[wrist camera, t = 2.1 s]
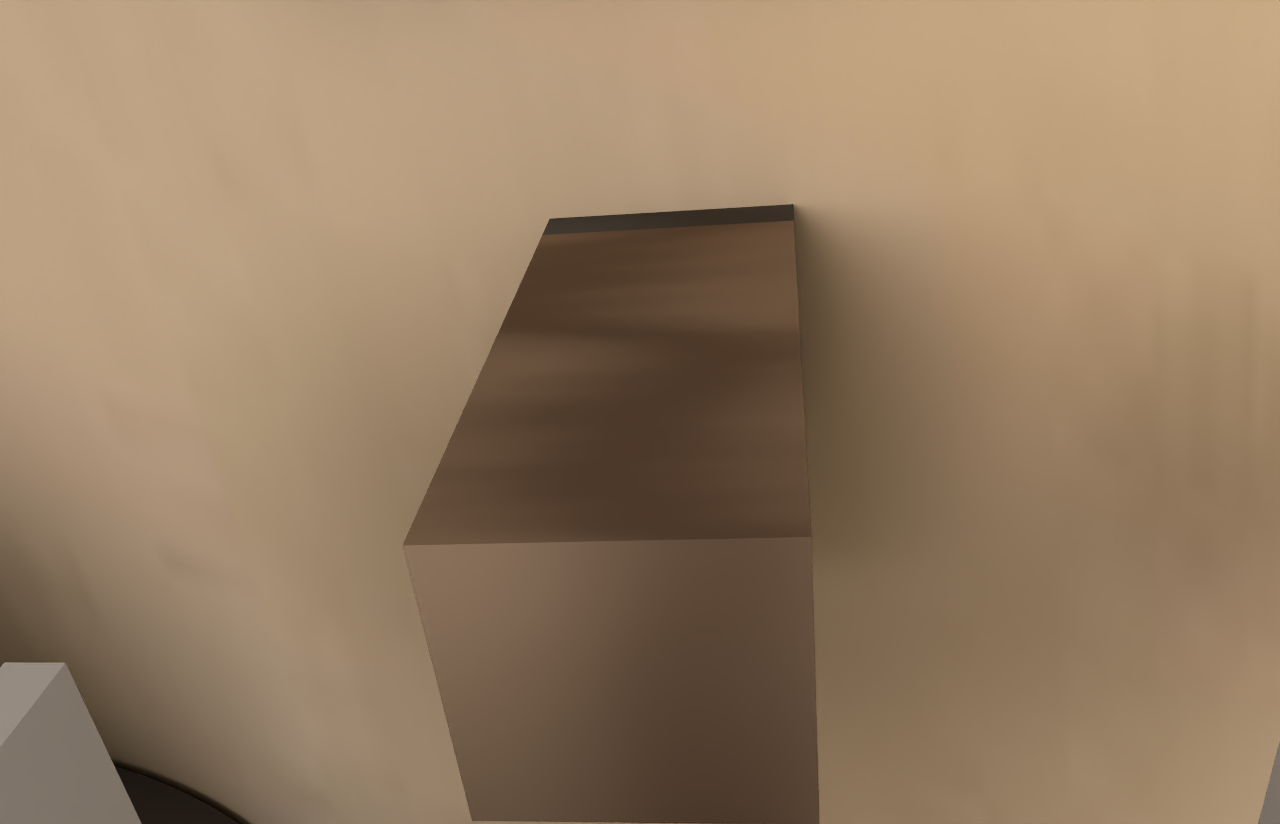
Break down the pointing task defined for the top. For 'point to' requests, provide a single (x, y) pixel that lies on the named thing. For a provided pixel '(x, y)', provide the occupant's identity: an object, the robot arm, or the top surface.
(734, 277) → the tall wooden block
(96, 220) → the top surface
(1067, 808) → the top surface
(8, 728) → the robot arm
